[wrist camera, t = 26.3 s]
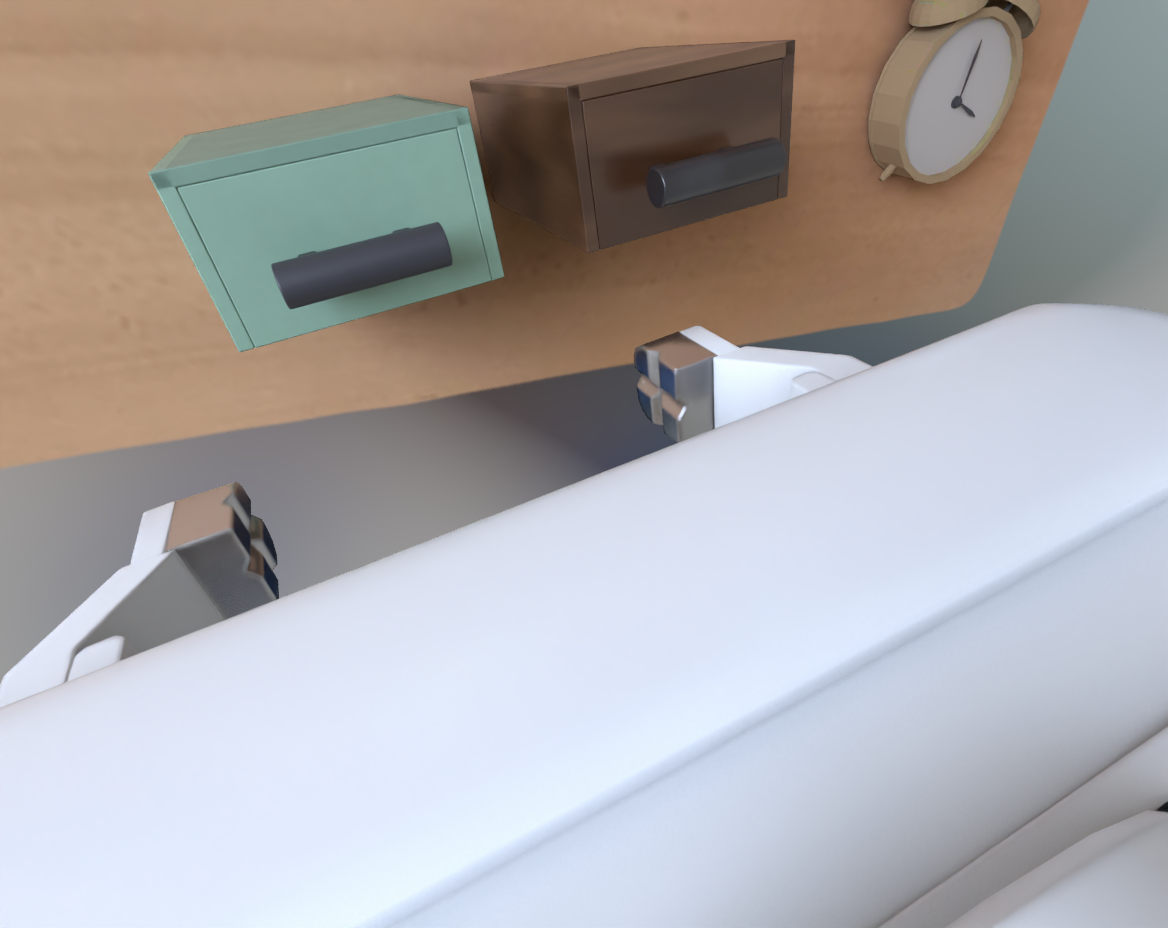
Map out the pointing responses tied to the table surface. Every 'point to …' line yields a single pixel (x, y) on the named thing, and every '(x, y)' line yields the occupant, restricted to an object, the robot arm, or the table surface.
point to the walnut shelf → (639, 138)
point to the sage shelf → (331, 214)
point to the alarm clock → (948, 85)
